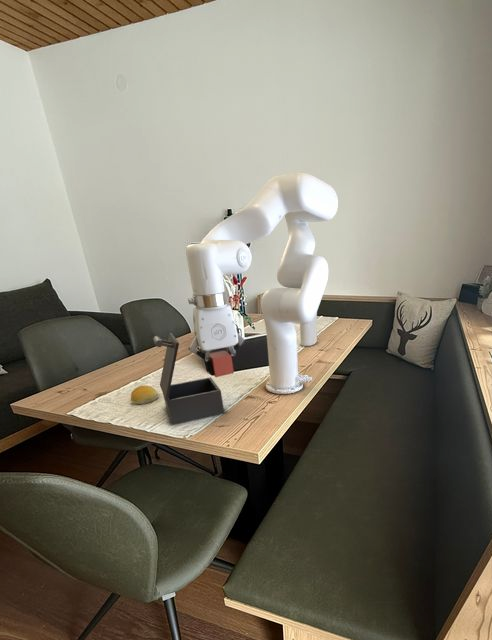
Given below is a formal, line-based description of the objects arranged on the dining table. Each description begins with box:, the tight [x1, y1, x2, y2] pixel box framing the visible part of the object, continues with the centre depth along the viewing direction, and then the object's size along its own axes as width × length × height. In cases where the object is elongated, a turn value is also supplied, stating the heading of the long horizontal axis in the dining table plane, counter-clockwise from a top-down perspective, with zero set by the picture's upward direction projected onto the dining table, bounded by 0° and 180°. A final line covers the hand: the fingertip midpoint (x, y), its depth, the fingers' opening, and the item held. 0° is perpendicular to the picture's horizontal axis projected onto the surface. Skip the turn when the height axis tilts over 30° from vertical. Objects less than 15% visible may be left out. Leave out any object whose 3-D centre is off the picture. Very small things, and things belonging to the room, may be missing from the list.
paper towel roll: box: [299, 311, 318, 347], centre depth 159 cm, size 7×6×21 cm
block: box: [210, 350, 235, 378], centre depth 95 cm, size 5×5×5 cm
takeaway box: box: [162, 376, 225, 426], centre depth 107 cm, size 15×12×7 cm
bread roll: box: [130, 385, 159, 405], centre depth 116 cm, size 8×9×4 cm
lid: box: [152, 332, 180, 401], centre depth 98 cm, size 16×12×5 cm
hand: (221, 370), depth 96 cm, fingers closed on block, 5 cm apart
